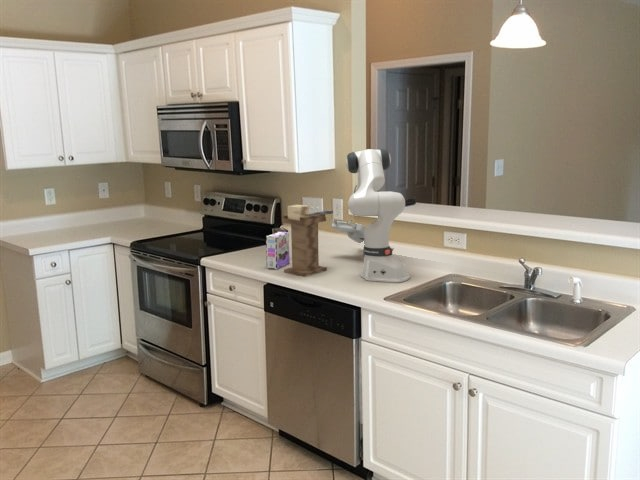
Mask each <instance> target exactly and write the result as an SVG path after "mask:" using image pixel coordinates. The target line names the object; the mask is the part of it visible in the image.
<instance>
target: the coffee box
mask: <svg viewBox="0 0 640 480" xmlns="http://www.w3.org/2000/svg"><path fill="white" fill-rule="evenodd" d="M271 230H272V234H275V233H278V232H289V230H288V229H287V228H284V227H276V228H275V227H274V228H272V229H271Z"/></svg>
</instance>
